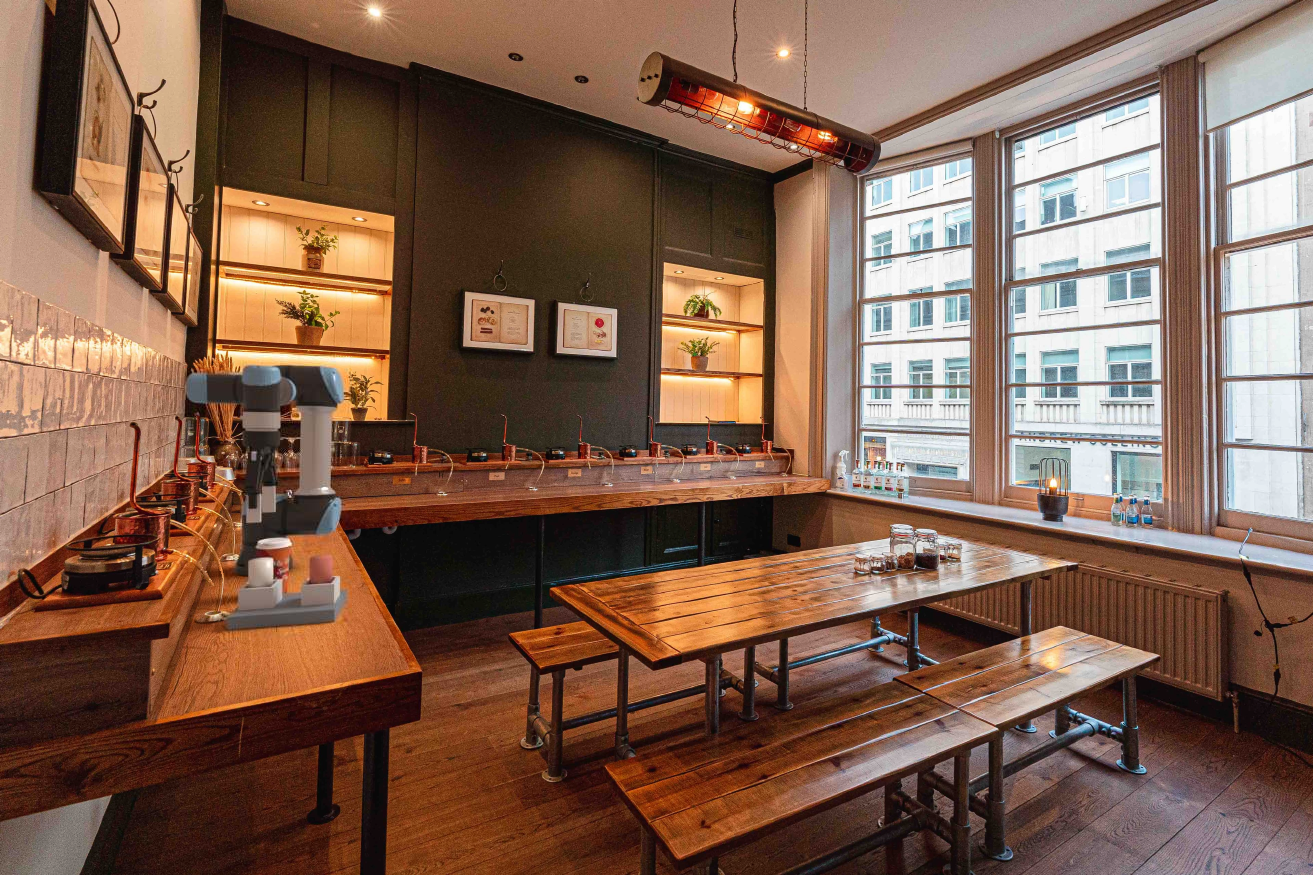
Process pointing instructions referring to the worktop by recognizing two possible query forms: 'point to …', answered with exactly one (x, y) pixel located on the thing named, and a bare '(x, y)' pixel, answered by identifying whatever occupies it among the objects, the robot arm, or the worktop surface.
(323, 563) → the red plug
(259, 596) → the board
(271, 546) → the coffee cup
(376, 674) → the worktop surface
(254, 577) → the plug
